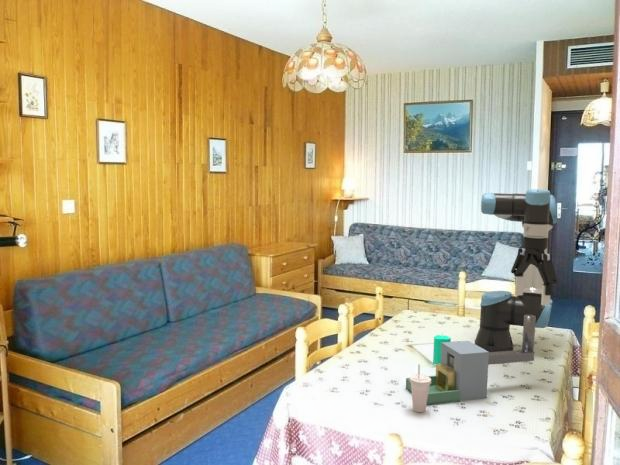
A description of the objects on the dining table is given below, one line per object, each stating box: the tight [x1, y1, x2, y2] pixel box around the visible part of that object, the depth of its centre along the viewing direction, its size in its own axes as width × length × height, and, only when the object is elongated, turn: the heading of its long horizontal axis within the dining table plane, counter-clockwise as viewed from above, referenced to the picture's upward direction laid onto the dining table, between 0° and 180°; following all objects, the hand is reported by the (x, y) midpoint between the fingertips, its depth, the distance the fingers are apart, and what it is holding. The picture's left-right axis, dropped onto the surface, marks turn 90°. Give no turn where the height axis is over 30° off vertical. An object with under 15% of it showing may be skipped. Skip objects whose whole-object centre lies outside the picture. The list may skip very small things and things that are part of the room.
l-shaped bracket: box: [449, 315, 536, 368], centre depth 179 cm, size 30×4×15 cm, turn 105°
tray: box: [405, 375, 461, 406], centre depth 175 cm, size 12×14×4 cm
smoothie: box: [409, 363, 431, 413], centre depth 164 cm, size 6×6×14 cm
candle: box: [432, 332, 452, 365], centre depth 203 cm, size 6×6×12 cm
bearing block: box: [441, 340, 489, 401], centre depth 178 cm, size 10×12×15 cm
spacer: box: [435, 363, 456, 392], centre depth 176 cm, size 2×8×8 cm, turn 15°
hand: (531, 299), depth 182 cm, fingers open, 13 cm apart
